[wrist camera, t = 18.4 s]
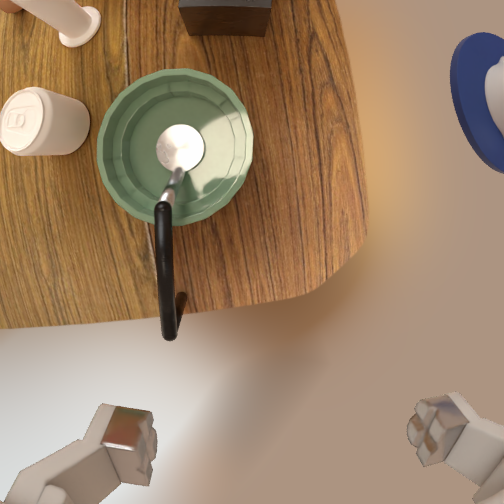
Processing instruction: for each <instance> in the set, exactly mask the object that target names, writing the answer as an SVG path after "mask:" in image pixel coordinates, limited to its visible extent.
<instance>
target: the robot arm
mask: <svg viewBox="0 0 504 504" xmlns="http://www.w3.org/2000/svg"><path fill="white" fill-rule="evenodd" d="M485 96H486V101H487V105H488V109H489V111H490V114H491V116H492V119H493V121H494V122H495V124H496V126H497V127H498V129H499V130H500V132H501V133H502V135H503V138H504V56H502V57H501V58H500V60H499V63H498V64H496V65H494V66H492V67H491V68H490V69H489V70H488V72H487V74H486V78H485ZM415 412H416V414H415V415H414V416H413V417H412V418H411V419H410V420H409V423H408V425H407V436H408V440H409V441H410V443H411V445H413V446H415V447H417V452H416V454H417V456H418V458H419V459H420V462H421V463H422V465H423V467H426V466H429V465H433V464H436V463H439V462H443V461H444V463H445V464H447V465H448V466H450V467H451V468H453V469H454V470H456V471H457V472H459V473H461V474H462V475H463V476H465V477H466V478H468V479H469V480H471V481H472V482H474V483H475V484H477V485H478V486H480V489H479V490H478V491H477V492H476V493H475V494H474V496H473V498H472V499H473V501H474V503H475V504H504V426H502V425H500V424H498V423H495V422H492V421H491V420H488V419H486V418H482V419H481V418H480V417H479V416H478V414H477V413H476V412H475V411H474V410H473V408H472V407H471V406H470V405H469V404H468V402H467V401H466V400H465V399H464V398H463V396H462V395H461V394H460V393H458V392H456V391H455V392H451V393H448V394H444V395H440V396H436V397H431V398H427V399H422V400H420V401H419V402H418V403H417V404H416V406H415ZM152 424H153V416H152V412H150V411H146V410H139V409H133V408H127V407H121V406H113V405H108V404H103V403H102V404H101V405H100V406H99V407H98V409H97V411H96V413H95V415H94V417H93V419H92V421H91V423H90V425H89V427H88V430H87V432H86V434H85V436H84V438H83V440H79V439H78V440H76V441H74V442H72V443H71V444H69V445H67V446H65V447H64V448H62V449H60V450H58V451H56V452H55V453H53V454H51V455H49V456H47V457H46V458H44V459H42V460H40V461H39V462H36V463H35V464H33V465H31V466H29V467H27V468H25V469H23V470H21V471H20V472H19V474H18V476H17V478H16V480H15V481H14V483H13V485H12V487H11V489H10V491H9V493H8V495H7V497H6V499H5V501H4V502H2V501H0V504H99V503H100V502H101V501H102V500H103V499H104V498H106V497H107V496H108V495H109V494H110V493H111V492H112V491H114V490H115V489H116V488H117V487H118V486H119V485H120V484H121V482H123V483H129V484H135V485H142V486H149V484H150V480H151V475H152V471H153V469H152V466H151V461H153V460H154V459H155V458H156V453H157V434H156V430H155V429H154V428H153V427H152Z"/></svg>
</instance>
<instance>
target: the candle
mask: <svg viewBox="0 0 504 504" xmlns="http://www.w3.org/2000/svg"><path fill="white" fill-rule="evenodd" d="M10 1H12V2H14V3H15V4H17V5H19V6H20V7H22V8H23V9H25V10H27V11H28V12H30V13H32V14H33V15H35V16H36V17H38V18H39V19H41V20H43V21H44V22H46V23H47V24H49V25H50V26H52V27H53V28H55V29H57V30H58V31H59V39H60V41H61V43H62V44H63V45H65V46H67V47H78V46H81V45H83V44H85V43H86V42H88V41H89V40H90V39H91V38H92V37H93V36H94V35H95V34H96V32H97V31H98V29H99V27H100V24H101V15H100V13H99V11H98V10H97V9H95V8H93V7H89V6H87V7H80V6H79V5H78V4H77V3H76V2H75V1H74V0H10Z"/></svg>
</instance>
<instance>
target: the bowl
mask: <svg viewBox="0 0 504 504" xmlns="http://www.w3.org/2000/svg"><path fill="white" fill-rule="evenodd" d="M177 124H185V125H189V126H191V127H193V128H195V129H196V130H197V131H198V132H199V133H200V134H201V135H202V137H203V139H204V143H205V152H204V155H203V158H202V160H201V161H200V163H199V164H198V165H197V166H195V167H194V168H193V169H191V170H188V171H185V176H184V179H183V182H182V184H181V187H180V189H179V192H178V194H177V197H176V200H175V202H174V205H173V208H172V226H184V225H187V224H190V223H194V222H197V221H200V220H204V219H206V218H208V217H209V216H211V215H212V214H214V213H215V212H217V211H218V210H220V209H221V208H222V207H224V206H225V205H227V204H228V203H229V201H230V200H231V199H232V198H233V196H234V195H235V194H236V192H237V191H238V190H239V189H240V187H241V186H242V185H243V183H244V181H245V178H246V175H247V173H248V170H249V167H250V165H251V162H252V159H253V136H254V134H253V130H252V127H251V123H250V120H249V116H248V113H247V110H246V108H245V107H244V105H243V104H242V103H241V101H240V100H239V98H238V97H237V96H236V94H235V93H234V91H233V90H232V89H231V88H229V87H228V86H227V85H225V84H224V83H222V82H221V81H219V80H218V79H217V78H215V77H214V76H212V75H210V74H206V73H203V72H199V71H196V70H192V69H187V68H186V69H165V70H160V71H158V72H155V73H152V74H149V75H147V76H144V77H142V78H140V79H138V80H136V81H135V82H134V83H133V84H131V85H130V86H129V87H127V88H126V89H125V90H123V91H122V92H121V93H120V94H119V95H118V96H117V98H116V99H115V101H114V102H113V103H112V105H111V106H110V108H109V109H108V110H107V112H106V113H105V116H104V119H103V122H102V125H101V128H100V131H99V134H98V137H97V164H98V168H99V171H100V175H101V178H102V182H103V184H104V186H105V187H106V189H107V190H108V192H109V193H110V195H111V196H112V198H113V199H114V201H115V202H116V203H117V204H118V205H119V206H120V207H122V208H123V209H124V210H126V211H127V212H128V213H130V214H131V215H132V216H133V217H135V218H137V219H140V220H143V221H145V222H148V223H151V224H154V207H155V205H156V204H157V203H158V201H159V198H160V196H161V194H162V192H163V190H164V188H165V186H166V184H167V182H168V180H169V178H170V176H171V174H172V172H173V171H170V170H168V169H166V168H165V167H164V166H163V165H162V164H161V163H160V161H159V160H158V157H157V154H156V144H157V141H158V138H159V137H160V135H161V134H162V133H163V131H165V130H166V129H167V128H169V127H171V126H173V125H177Z"/></svg>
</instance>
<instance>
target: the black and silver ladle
mask: <svg viewBox="0 0 504 504" xmlns="http://www.w3.org/2000/svg"><path fill="white" fill-rule="evenodd" d="M204 152H205V143H204V139H203V137H202V135H201V134H200V133H199V132H198V131H197V130H196V129H195V128H193V127H191V126H189V125H185V124H177V125H173V126H171V127H169V128H167V129H166V130H165V131H163V133H162V134H161V135H160V137H159V138H158V141H157V144H156V154H157V157H158V160H159V161H160V163H161V164H162V165H163V166H164V167H165V168H166V169H168V170H170V171H173V172H172V174H171V176H170V178H169V180H168V182H167V184H166V186H165V188H164V190H163V192H162V194H161V196H160V198H159V201H158V203H157V204H156V205H155V207H154V228H155V252H156V270H157V285H158V298H159V310H160V321H161V331H162V336H163V338H164V339H165V340H167V341H173V340H175V339H176V337H177V332H178V328H179V325H180V321H181V318H182V315H183V311H184V308H185V305H186V302H187V295H186V294H185V293H184V292H179V293H178V294H177V295H176V298H175V287H174V266H173V233H172V208H173V205H174V202H175V200H176V197H177V194H178V192H179V189H180V187H181V184H182V182H183V179H184V176H185V171H188V170H191V169H193V168H194V167H195V166H197V165H198V164H199V163H200V161H201V160H202V158H203V155H204Z"/></svg>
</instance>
